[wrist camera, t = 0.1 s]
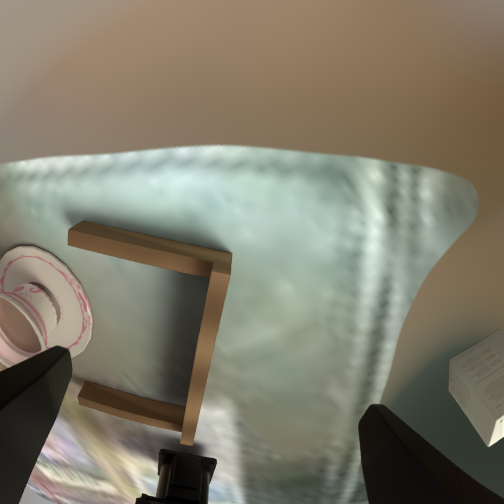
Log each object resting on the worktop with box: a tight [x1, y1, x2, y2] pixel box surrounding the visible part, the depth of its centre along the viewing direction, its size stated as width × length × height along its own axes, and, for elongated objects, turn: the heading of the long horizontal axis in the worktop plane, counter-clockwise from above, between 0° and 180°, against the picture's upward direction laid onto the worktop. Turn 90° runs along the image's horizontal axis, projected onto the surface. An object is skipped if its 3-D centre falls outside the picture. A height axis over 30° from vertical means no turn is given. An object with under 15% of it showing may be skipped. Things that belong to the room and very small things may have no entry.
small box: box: [448, 329, 504, 447], centre depth 24 cm, size 8×6×10 cm
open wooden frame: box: [68, 221, 232, 446], centre depth 24 cm, size 18×12×4 cm, turn 166°
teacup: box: [0, 246, 93, 368], centre depth 22 cm, size 12×12×6 cm
